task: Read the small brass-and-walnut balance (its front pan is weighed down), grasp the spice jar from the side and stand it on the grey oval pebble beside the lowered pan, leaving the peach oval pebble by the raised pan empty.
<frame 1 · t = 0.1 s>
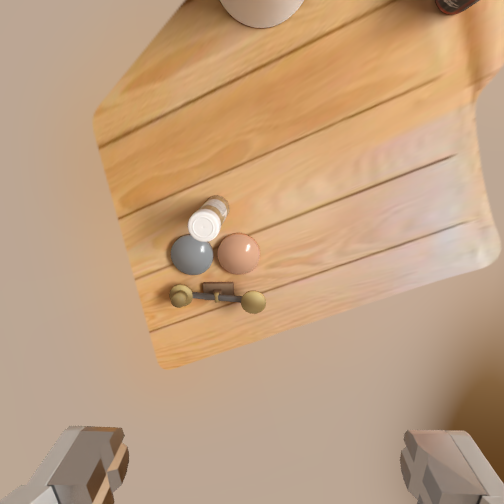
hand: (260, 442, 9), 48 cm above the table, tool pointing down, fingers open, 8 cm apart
grey oval pebble: (193, 253, 59), on the table
peach oval pebble: (239, 252, 58), on the table
spice jar: (217, 206, 55), on the table
balance: (219, 290, 61), on the table
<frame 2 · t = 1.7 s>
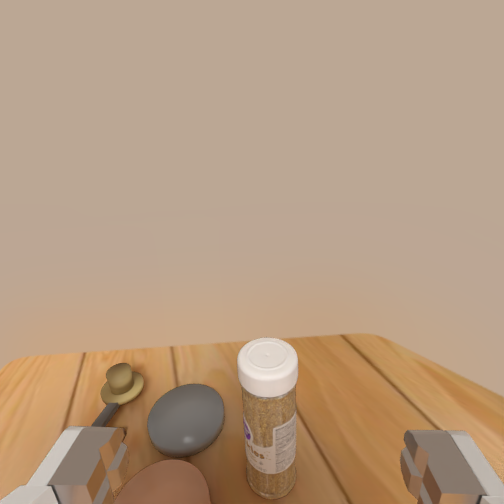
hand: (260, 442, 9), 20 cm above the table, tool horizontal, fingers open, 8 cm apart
grey oval pebble: (187, 420, 33), on the table
spice jar: (271, 475, 27), on the table
balance: (94, 462, 29), on the table
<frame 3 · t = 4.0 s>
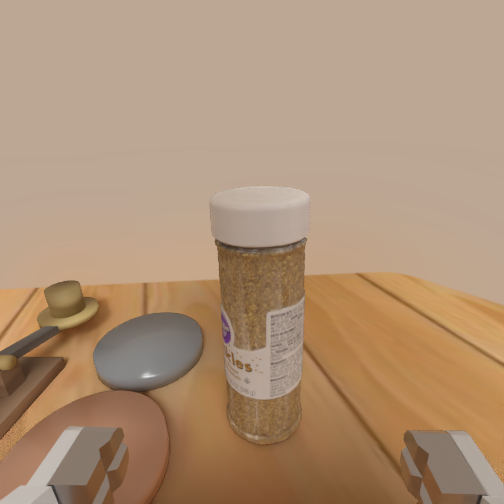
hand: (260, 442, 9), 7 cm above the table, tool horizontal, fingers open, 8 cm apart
grey oval pebble: (152, 352, 24), on the table
peach oval pebble: (90, 468, 16), on the table
spice jar: (265, 416, 18), on the table
balance: (11, 397, 20), on the table
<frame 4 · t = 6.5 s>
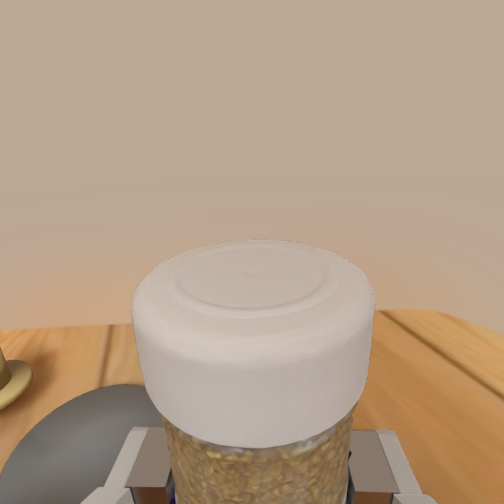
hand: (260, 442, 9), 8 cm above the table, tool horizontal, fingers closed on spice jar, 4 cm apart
grey oval pebble: (98, 458, 16), on the table
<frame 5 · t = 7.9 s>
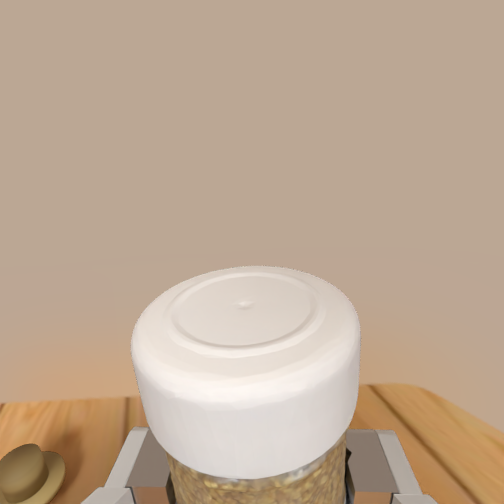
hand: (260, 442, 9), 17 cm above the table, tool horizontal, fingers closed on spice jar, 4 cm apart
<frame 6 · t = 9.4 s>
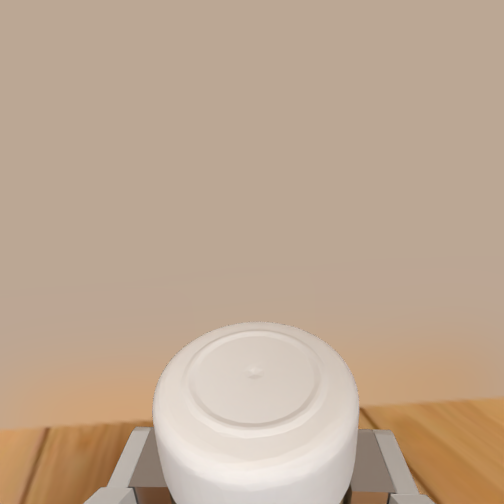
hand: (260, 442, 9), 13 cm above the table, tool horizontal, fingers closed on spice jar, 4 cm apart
when the fingers open (11 cm above the table, at t = 10.6 s): spice jar stays where it is, resting on grey oval pebble.
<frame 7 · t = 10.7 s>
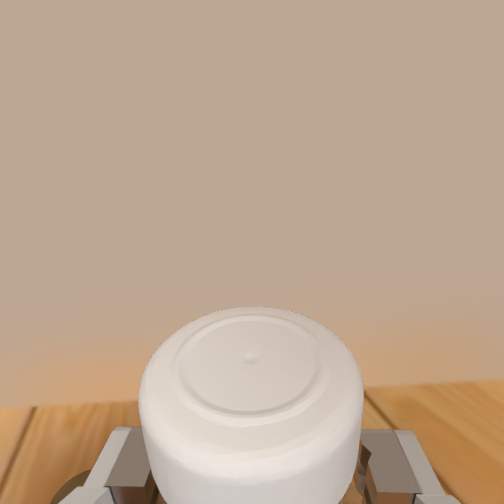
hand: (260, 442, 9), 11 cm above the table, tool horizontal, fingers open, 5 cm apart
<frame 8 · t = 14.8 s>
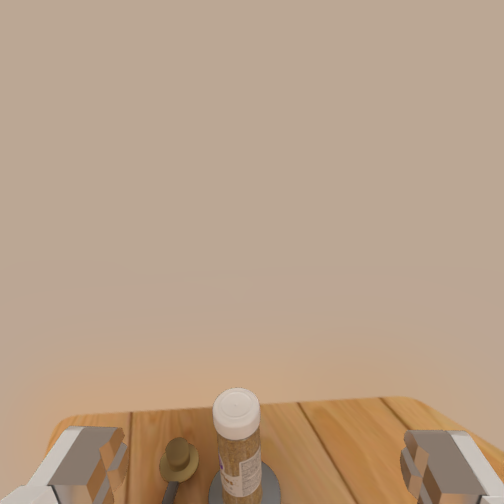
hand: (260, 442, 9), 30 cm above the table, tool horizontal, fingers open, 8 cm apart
grey oval pebble: (245, 499, 34), on the table
spice jar: (243, 496, 34), point 1 cm above the table, touching grey oval pebble
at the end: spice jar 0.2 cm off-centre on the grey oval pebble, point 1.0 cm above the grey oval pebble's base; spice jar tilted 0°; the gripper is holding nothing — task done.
